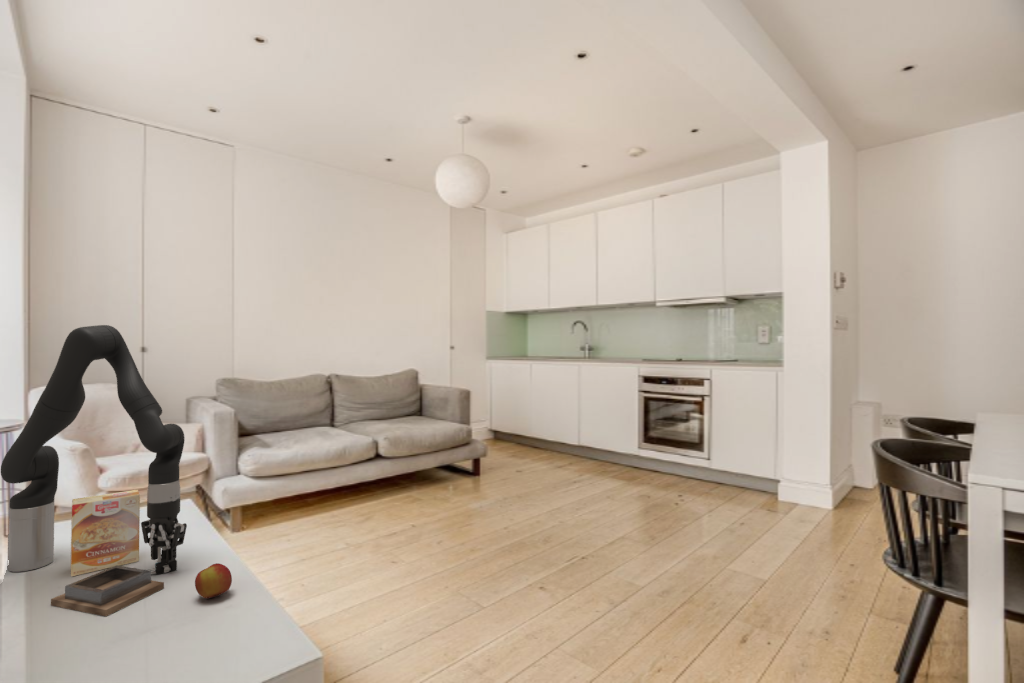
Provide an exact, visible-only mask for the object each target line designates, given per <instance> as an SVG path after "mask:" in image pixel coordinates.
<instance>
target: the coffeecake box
mask: <svg viewBox="0 0 1024 683" xmlns="http://www.w3.org/2000/svg"><path fill="white" fill-rule="evenodd" d="M140 505H141V495H140V492H139V489H133V490H127V491H126V490H125V491H120V492H119V491H118V492H112V493H105V494H100V495H99V494H98V495H93V496H92V495H91V496H86V497H77V498H72V501H71V523H70V525H71V528H70V529H71V530H70V531H71V533H70V534H71V537H70V577H71V578H72V577H75V576H80V575H84V574H88V573H93V572H98V571H101V570H102V571H103V570H106V569H109V568H111V567H114V566H116V565H118V566H124V565H128V564H134V563H137V562H139V560H140V527H141V526H140V525H141V522H140V518H141V517H140V514H141V510H140V509H141V508H140V507H141V506H140Z"/></svg>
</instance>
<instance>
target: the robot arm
mask: <svg viewBox="0 0 1024 683" xmlns="http://www.w3.org/2000/svg"><path fill="white" fill-rule="evenodd" d="M104 359H105V361H107V362H108V364H109V365H110V366H111V368H112V369H113V371H114V373H115V377H116V386H117V387H116V388H117V390H116V392H117V396H118V401H119V402H120V404H121V406H122V407H123V410H125V412H126V413H127V414H128V415H129V417H130V419H131V420H132V421H133V423H134V427H135V430H136V432H137V436H138V438H139V440H140V443H141V444H142V445H143V447H144V448H145V449H146V450H148V451H149V452H151V453H153V454H154V453H155V457H154V460H152V461H151V462H150V464H149V466H148V478H147V479H148V480H147V481H148V484H147V490H146V491H147V492H146V516H147V518H148V519H147V520H143V521H142V522H140V525H141V526H140V527H141V531H142V538H143V543H144V544H148V546H149V547H150V559H151V560H153V561H155V560H156V561H157V560H158V547H156V546H155V543H154V540H155V539H156V538H158V536H159V535H161V536H162V538H163V541H165V542H166V546H167V549H166V562H172V561H174V560H175V559H176V558H177V547H178V546H180V545H183V544H184V541H185V536H186V531H187V527H188V525H187V523H180V522H179V520H178V515H179V513H180V512H181V484H180V461H181V460H182V455H183V450H184V446H185V433H184V430H183V429H182V427H181V426H180V425H178V424H176V423H165V424H164V423H163V421H162V419H161V417H160V416H161V415H162V414H163V409H162V407H161V405H160V403H159V402H158V401H157V399H156V397H155V396H154V395H153V393H152V392H151V390H150V389H149V388H148V386H147V385H146V383H145V381H144V379H143V378H142V375H141V374H140V372H139V369H138V367H137V364H136V363H135V360H134V358H133V356H132V354H131V351H130V349H129V348H128V345H127V343H126V341H125V339H124V336H122V334H121V332H120V331H119V330H118V329H117V328H115V327H114V326H112V325H109V324H108V325H107V324H99V325H89V326H80V327H77V328H75V329H73V330H72V331H70V332H69V333H68V335H67V337H66V338H65V341H64V342H63V345H62V348H61V351H60V354H59V357H58V360H57V362H56V364H55V366H54V369H53V371H52V374H51V376H50V378H49V380H48V382H47V384H46V386H45V388H44V390H43V391H42V393H41V395H40V396H39V399H38V400H37V403H36V404H35V406H34V409H33V411H32V413H31V415H30V416H29V419H28V420H27V422H26V423H25V425H24V427H23V429H22V431H21V432H20V434H19V435H18V436H17V438H16V439H15V440H14V442H13V444H12V445H11V446H10V447H9V449H8V451H7V452H6V453H5V455H4V458H3V459H2V462H1V465H0V475H1V478H2V480H3V481H4V482H6V483H8V484H22V483H27V482H30V483H29V484H28V485H27V486H26V487H25V488H23V490H21V491H19V492H17V493H16V494H14V495H12V496H11V497H10V498H9V512H8V513H9V514H8V515H9V519H8V520H9V524H8V525H9V526H8V527H9V528H8V529H9V530H8V531H9V532H8V534H7V561H8V560H9V565H8V564H7V568H8V571H10V572H12V573H13V572H14V573H18V572H20V573H21V572H27V571H31V570H35V569H36V570H37V569H39V568H43V567H46V566H48V565H50V564H52V563H53V562H54V560H55V559H54V558H55V556H54V555H55V496H56V494H57V490H58V480H59V479H58V478H59V471H60V470H59V469H60V460H59V459H60V458H59V454H58V452H57V450H56V449H55V448H54V447H53V446H50V445H45V444H47V443H48V442H49V441H50V440H51V439H53V438H54V437H55V436H57V435H58V434H60V433H61V432H62V431H64V430H65V429H66V428H68V427H69V426H70V425H71V424H72V423H73V422H74V421H75V420H76V418H77V417H78V416H79V415H78V414H79V413H80V411H81V409H82V408H83V405H84V404H85V401H86V392H85V391H86V390H85V388H84V385H83V377H84V374H85V373H86V371H87V369H88V368H89V366H90V365H91V363H92V362H94V361H98V360H99V361H100V360H104ZM170 534H172V535H171V536H169V537H168V536H167V535H170ZM170 539H173V541H172V543H171V541H170ZM176 560H177V559H176Z"/></svg>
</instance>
